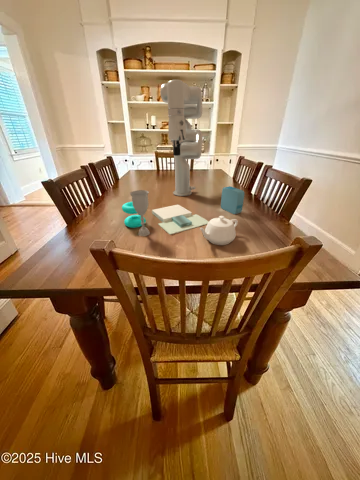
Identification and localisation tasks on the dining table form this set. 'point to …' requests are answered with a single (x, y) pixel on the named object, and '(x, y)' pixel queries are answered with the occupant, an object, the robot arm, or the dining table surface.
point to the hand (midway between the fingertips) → (176, 155)
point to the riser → (170, 212)
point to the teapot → (220, 230)
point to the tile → (181, 221)
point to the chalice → (141, 208)
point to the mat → (174, 228)
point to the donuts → (132, 216)
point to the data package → (232, 200)
